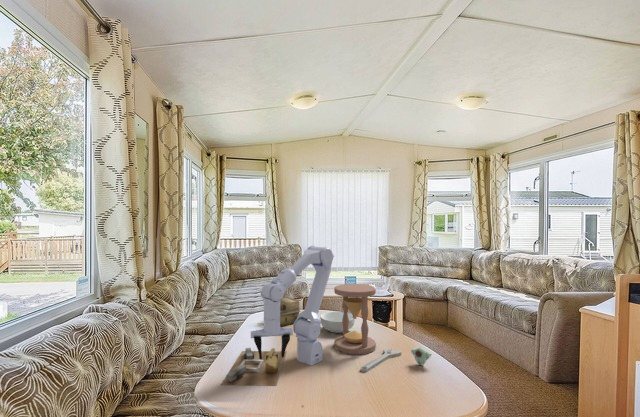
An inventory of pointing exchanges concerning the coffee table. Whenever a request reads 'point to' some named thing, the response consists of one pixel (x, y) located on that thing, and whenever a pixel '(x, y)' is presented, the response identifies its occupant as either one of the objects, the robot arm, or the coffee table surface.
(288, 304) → the miniature house
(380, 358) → the adjustable wrench
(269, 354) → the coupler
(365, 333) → the hourglass
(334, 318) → the cereal bowl
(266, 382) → the tan wooden flat board
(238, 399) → the coffee table surface
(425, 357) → the robot head
